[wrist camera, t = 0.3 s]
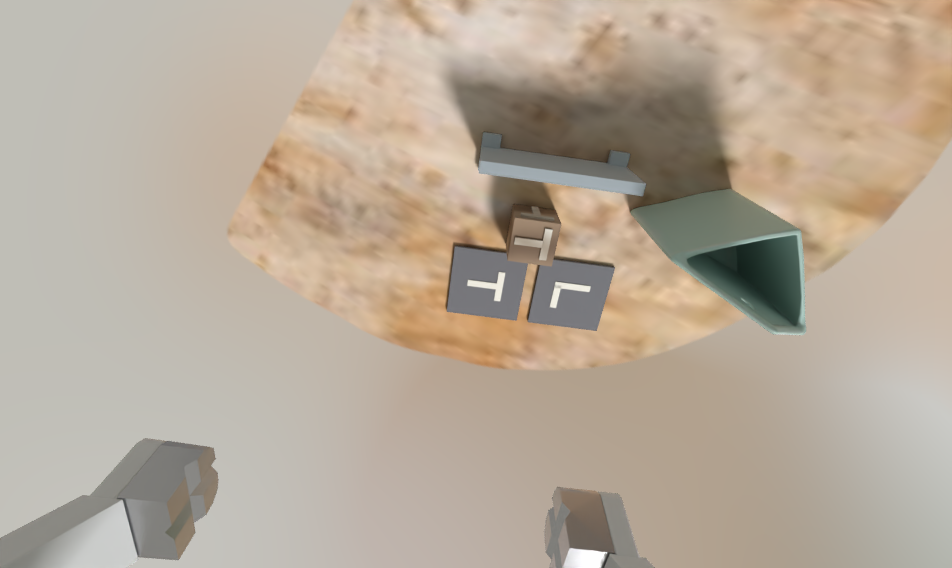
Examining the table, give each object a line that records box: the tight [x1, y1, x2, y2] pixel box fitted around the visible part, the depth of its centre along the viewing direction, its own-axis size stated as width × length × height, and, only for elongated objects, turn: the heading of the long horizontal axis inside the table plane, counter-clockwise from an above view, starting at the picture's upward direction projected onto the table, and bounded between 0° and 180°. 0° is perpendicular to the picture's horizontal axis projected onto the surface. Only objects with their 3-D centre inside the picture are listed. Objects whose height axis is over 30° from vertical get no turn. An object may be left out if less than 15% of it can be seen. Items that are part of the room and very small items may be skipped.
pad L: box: [528, 259, 615, 331], centre depth 60 cm, size 9×9×1 cm
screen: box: [478, 132, 646, 196], centre depth 49 cm, size 4×16×8 cm, turn 82°
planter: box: [630, 189, 806, 335], centre depth 47 cm, size 16×8×20 cm, turn 61°
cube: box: [506, 204, 561, 267], centre depth 54 cm, size 5×5×5 cm
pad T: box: [447, 246, 528, 320], centre depth 60 cm, size 9×9×1 cm
